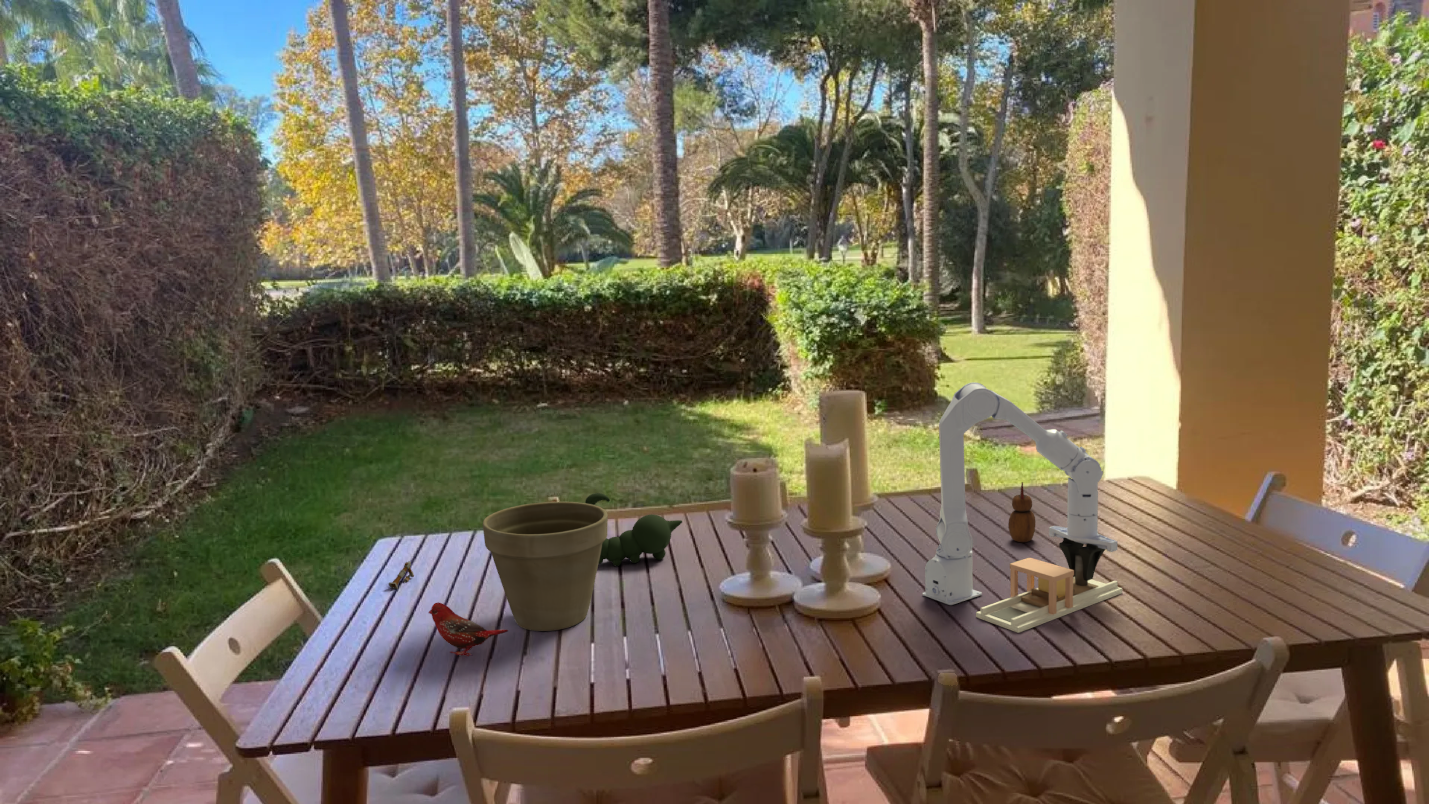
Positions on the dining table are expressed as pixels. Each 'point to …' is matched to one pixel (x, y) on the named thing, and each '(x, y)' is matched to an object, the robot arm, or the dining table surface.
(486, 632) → the decorative bird figurine
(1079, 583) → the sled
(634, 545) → the toy figurine
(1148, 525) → the dining table surface
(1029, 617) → the track
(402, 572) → the wooden post with brackets
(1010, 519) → the wooden figurine
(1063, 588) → the block
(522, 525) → the plant pot
